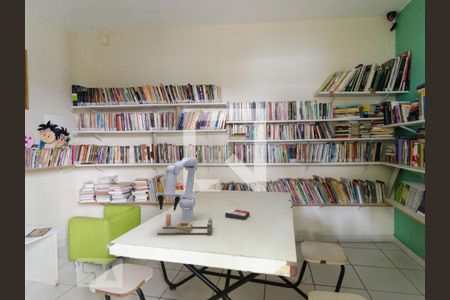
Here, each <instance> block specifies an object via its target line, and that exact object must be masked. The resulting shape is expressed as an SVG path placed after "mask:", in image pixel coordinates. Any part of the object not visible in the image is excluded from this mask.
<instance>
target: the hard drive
mask: <svg viewBox="0 0 450 300" xmlns="http://www.w3.org/2000/svg"><path fill="white" fill-rule="evenodd" d="M224 213H225V215H224V217H225V218H227V219H233V220H240V221H246V220H247V219H248V218H249V217H250V212H249V211H246V210H241V209H234V208H230V209H229V210H227V211H226V212H224Z"/></svg>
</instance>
